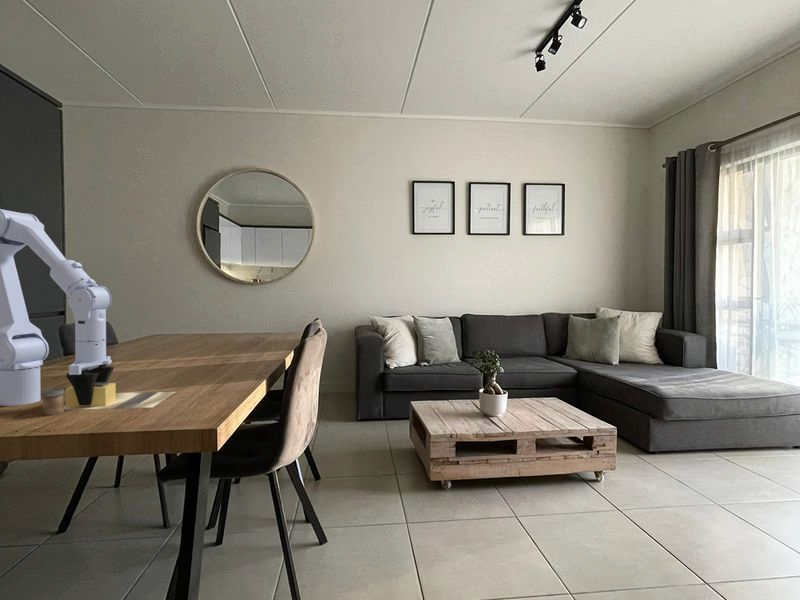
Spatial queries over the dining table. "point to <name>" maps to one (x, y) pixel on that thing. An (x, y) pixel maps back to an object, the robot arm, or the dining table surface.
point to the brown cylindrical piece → (53, 401)
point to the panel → (130, 401)
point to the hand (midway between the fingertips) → (91, 401)
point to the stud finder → (101, 395)
